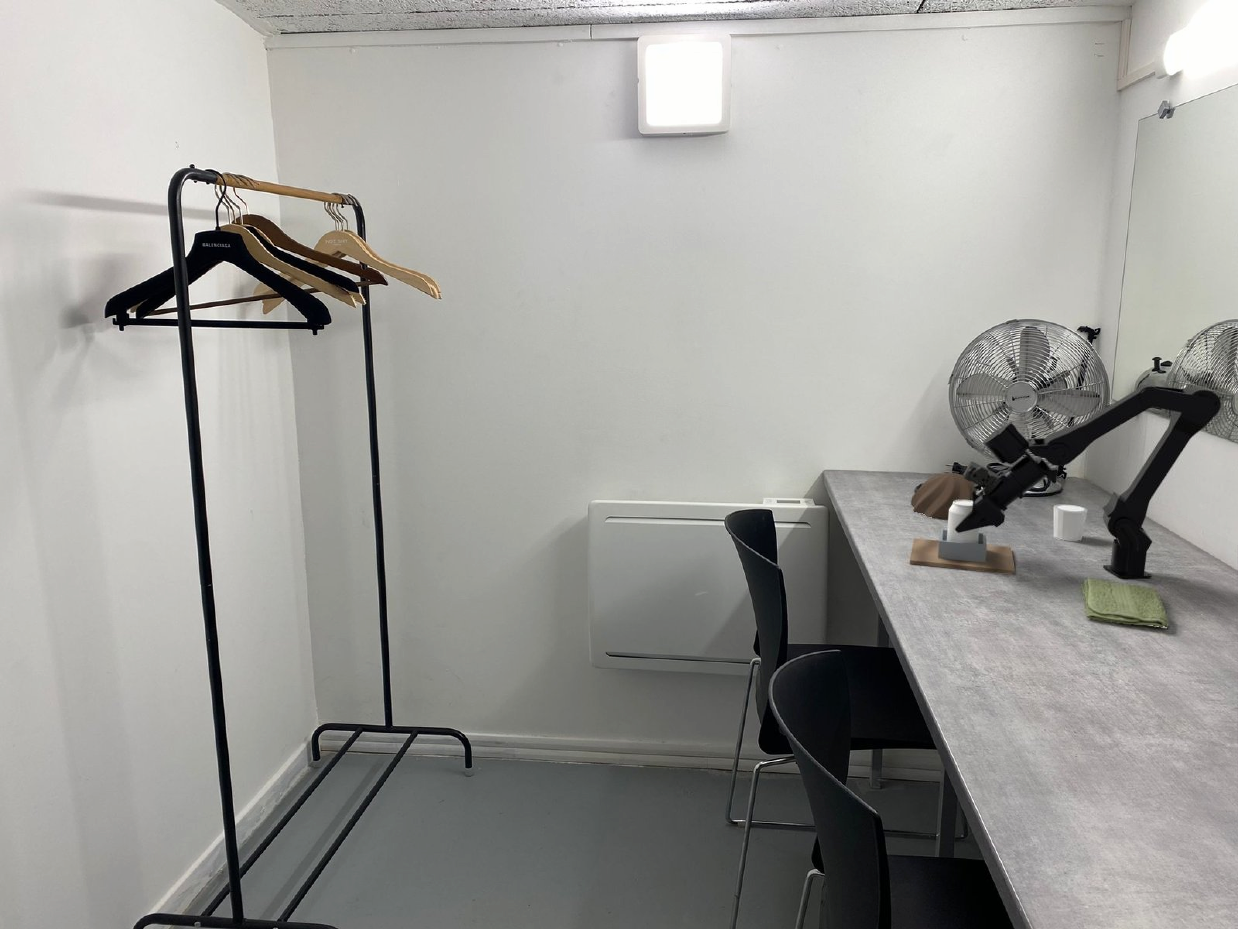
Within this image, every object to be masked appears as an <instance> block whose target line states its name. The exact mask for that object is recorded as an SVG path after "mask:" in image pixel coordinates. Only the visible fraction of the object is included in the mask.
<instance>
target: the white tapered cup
mask: <svg viewBox="0 0 1238 929" xmlns="http://www.w3.org/2000/svg"><path fill="white" fill-rule="evenodd" d="M1087 515H1088V509H1087V508H1086V507H1083V506H1079V505H1074V504H1065V503H1064V504H1063V503H1062V504H1055V505H1054V506H1053V537H1054V538H1055V537H1057V538H1059V539H1058V540H1060V539H1062V540H1061V541H1064V540H1067V541H1066V542H1079V541H1078V540H1080V541H1081V540H1082V538H1083V535H1084V529H1085V524H1086V520H1087ZM1057 538H1056V539H1057Z"/></svg>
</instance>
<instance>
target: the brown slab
mask: <svg viewBox="0 0 1238 929" xmlns="http://www.w3.org/2000/svg"><path fill="white" fill-rule="evenodd" d="M912 543H913V544H912V547H911V552H910V558H909V564H911V565H919V566H927V565H928V567H936V568H937V567H938V568H948V569H956V568H957V570H967V571H979V572H987V573H996V574H997V573H998V574H1005V575H1007V574H1008V575H1015V571H1016V570H1015V565H1014V564H1015V563H1014V557H1013V550H1012V547H1011V546H1000V545H990V544H987V548H986V560H985V562H975V561H964V560H954V559H944V558H938V550H939V539H938V540H936V539H926V538H924V539H923V538H915V537H914V538H913V542H912Z"/></svg>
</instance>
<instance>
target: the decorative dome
mask: <svg viewBox="0 0 1238 929" xmlns="http://www.w3.org/2000/svg"><path fill="white" fill-rule="evenodd" d="M963 476H964V475H963V474H959V473H955V472H947V473H942V474H938V475H934V476H932V477H929V478H928V479H927V480H925V481H924V482H923V483H922V484H921V486H920V487H919V489H917V490H916V491H915V493H914V494H913V495H912V497H911V500H910V506H911V505H912V506H913V507H914V508H913V507H912V506H911V507H912V508H913V510H912V512H913V511H914V512H913V513H915V512H917V514H919V513H923V514H925V515H926V516H927V517H926V516H925V515H924V516H925V517H926V518H928V517H932V518H931V519H935V518H939V520H945V519H946V521H948V517H949V509H950V507H951V506H952V504H953V501H955V500H972V490H973V489H974V490H975V491H978V490H979V489H975V487H974V484H976V483H974V482H972V481H968V480H966V479H964V478H963ZM923 514H922V515H923Z"/></svg>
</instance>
